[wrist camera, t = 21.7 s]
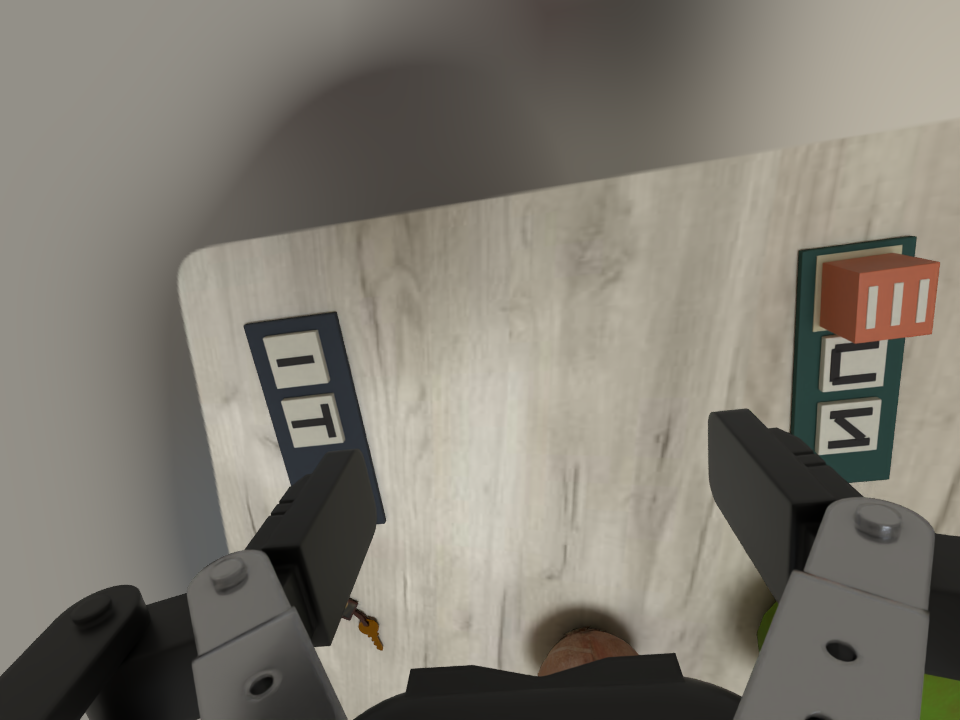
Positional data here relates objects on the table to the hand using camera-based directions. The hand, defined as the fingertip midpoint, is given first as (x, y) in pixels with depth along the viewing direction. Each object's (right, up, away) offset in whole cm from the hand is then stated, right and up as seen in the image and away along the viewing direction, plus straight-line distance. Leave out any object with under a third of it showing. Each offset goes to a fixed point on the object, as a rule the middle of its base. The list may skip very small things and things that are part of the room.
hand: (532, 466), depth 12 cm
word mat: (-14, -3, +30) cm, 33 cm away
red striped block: (+24, +7, +23) cm, 34 cm away
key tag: (-13, -21, +36) cm, 43 cm away
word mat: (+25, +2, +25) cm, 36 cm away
